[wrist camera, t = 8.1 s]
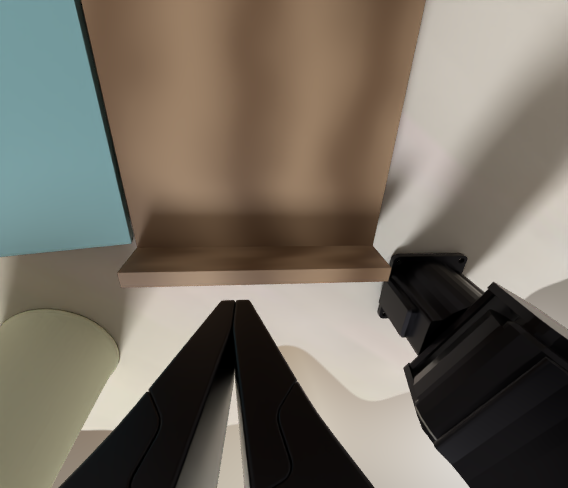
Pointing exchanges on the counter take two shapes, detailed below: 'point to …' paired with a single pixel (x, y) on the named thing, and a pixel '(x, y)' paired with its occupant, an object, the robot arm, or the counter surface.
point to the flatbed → (253, 133)
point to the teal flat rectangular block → (54, 135)
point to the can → (47, 390)
